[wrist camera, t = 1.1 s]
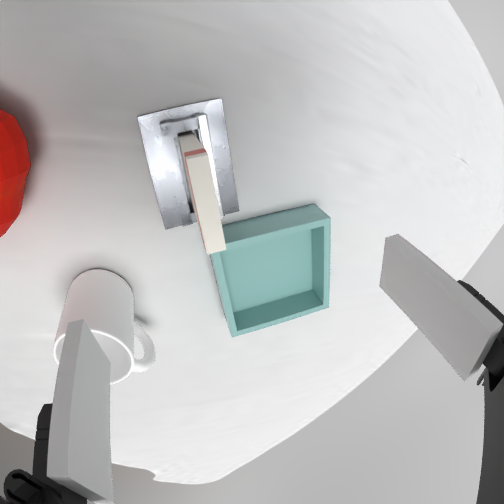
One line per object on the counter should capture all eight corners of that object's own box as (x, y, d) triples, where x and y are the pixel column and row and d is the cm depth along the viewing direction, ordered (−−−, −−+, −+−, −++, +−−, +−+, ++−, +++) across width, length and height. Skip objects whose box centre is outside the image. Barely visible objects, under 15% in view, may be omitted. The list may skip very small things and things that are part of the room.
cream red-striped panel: (176, 133, 28) (186, 159, 19) (191, 130, 28) (208, 154, 19) (190, 200, 32) (207, 254, 22) (204, 196, 32) (226, 249, 23)
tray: (204, 230, 34) (210, 247, 31) (314, 203, 36) (330, 217, 33) (225, 316, 41) (231, 337, 38) (316, 289, 43) (328, 307, 40)
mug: (171, 306, 38) (180, 370, 30) (134, 343, 40) (136, 406, 31) (91, 253, 32) (75, 314, 23) (58, 299, 33) (41, 362, 25)
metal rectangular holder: (138, 116, 26) (135, 120, 24) (220, 98, 28) (227, 100, 25) (165, 227, 33) (166, 242, 30) (237, 208, 34) (245, 221, 31)
